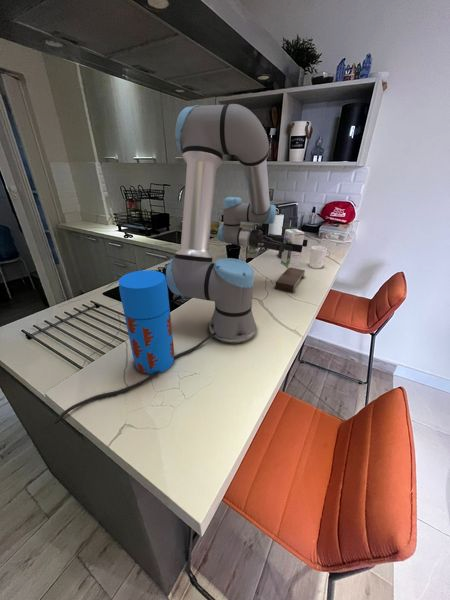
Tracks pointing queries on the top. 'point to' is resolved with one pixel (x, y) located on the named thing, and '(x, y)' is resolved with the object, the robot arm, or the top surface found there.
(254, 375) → the top surface
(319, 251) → the white cup
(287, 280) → the brown rectangular block
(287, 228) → the french press
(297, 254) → the syrup box
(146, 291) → the thermos
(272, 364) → the top surface
